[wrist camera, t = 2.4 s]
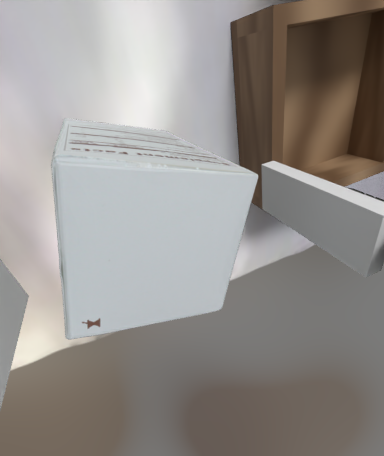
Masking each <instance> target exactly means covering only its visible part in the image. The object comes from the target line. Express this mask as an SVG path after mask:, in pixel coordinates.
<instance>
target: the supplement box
mask: <svg viewBox="0 0 384 456" xmlns="http://www.w3.org/2000/svg"><path fill="white" fill-rule="evenodd" d="M51 168H52V180H53V191H54V202H55V214H56V226H57V238H58V250H59V267H60V277H61V283H62V295H63V307H64V320H65V335H66V338H67V339H68V340H69V339H76V338H82V337H89V336H95V335H100V334H106V333H111V332H116V331H121V330H126V329H131V328H136V327H141V326H146V325H151V324H155V323H160V322H165V321H171V320H175V319H179V318H185V317H190V316H195V315H199V314H206V313H210V312H214V311H218V310H220V309H221V308H222V306H223V303H224V299H225V295H226V291H227V288H228V284H229V280H230V276H231V273H232V269H233V266H234V262H235V259H236V255H237V251H238V248H239V244H240V241H241V237H242V233H243V230H244V226H245V223H246V219H247V215H248V212H249V208H250V205H251V201H252V198H253V194H254V190H255V187H256V184H257V180H258V174H256V173H254V172H252V171H250V170H248V169H246V168H244V167H241V166H239V165H237V164H235V163H233V162H230V161H228V160H226V159H224V158H222V157H220V156H218V155H216V154H213V153H211V152H209V151H207V150H204V149H202V148H200V147H198V146H196V145H194V144H192V143H190V142H188V141H186V140H184V139H182V138H180V137H178V136H176V135H174V134H172V133H170V132H167V131H165V130H156V129H148V128H140V127H133V126H125V125H117V124H109V123H102V122H94V121H85V120H77V119H68V118H65V119H64V121H63V125H62V128H61V131H60V134H59V137H58V140H57V143H56V145H55V148H54V152H53V158H52V164H51Z"/></svg>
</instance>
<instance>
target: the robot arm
mask: <svg viewBox="0 0 384 456" xmlns="http://www.w3.org/2000/svg"><path fill="white" fill-rule="evenodd" d="M261 166H262V209H263V210H265V211H266V212H268V213H269V214H271V215H272V216H274V217H275V218H277V219H278V220H280V221H281V222H283V223H284V224H286V225H287V226H289V227H290V228H292V229H293V230H295V231H296V232H298V233H299V234H301V235H302V236H304V237H305V238H307V239H308V240H310V241H311V242H313V243H314V244H316V245H318V246H319V247H320V248H322V249H324V250H325V251H327V252H328V253H330V254H331V255H333V256H334V257H336V258H337V259H339V260H340V261H342V262H343V263H345V264H346V265H348V266H349V267H351V268H352V269H354V270H355V271H357V272H358V273H360V274H361V275H363V276H364V277H368V276H370V275H372V274H374V273H376V272H378V271H380V270H381V269H382V266H383V262H384V200H382V199H379V198H377V197H375V198H374V196H371V195H369V194H364V193H363V192H360V191H358V190H355V189H352V188H346V187H343V186H340V185H337V184H335V183H332V182H329V181H327V180H324V179H321V178H319V177H316V176H313V175H311V174H308V173H305V172H303V171H300V170H297V169H295V168H292V167H289V166H287V165H284V164H281V163H279V162H276V161H271V162H268V163H265V164H261ZM28 297H29V296H28V294H27V293H26V292H25V290H24V289H23V288H22V286H21V285H20V284H19V283H18V281H17V280H16V279H15V277H14V276H13V275H12V273H11V272H10V271H9V270H8V268H7V267H6V266H5V264H4V263H3V262H2V260H1V259H0V409H1V405H2V401H3V397H4V393H5V389H6V385H7V381H8V377H9V373H10V369H11V365H12V361H13V357H14V353H15V349H16V345H17V341H18V337H19V333H20V329H21V325H22V321H23V317H24V313H25V309H26V305H27V301H28Z"/></svg>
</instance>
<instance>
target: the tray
mask: <svg viewBox="0 0 384 456" xmlns="http://www.w3.org/2000/svg"><path fill="white" fill-rule="evenodd" d="M231 35H232V51H233V66H234V82H235V98H236V114H237V130H238V145H239V161H240V166H241V167H244V168H246V169H248V170H250V171H252V172H254V173H256V174H258V180H257V184H256V187H255V190H254V194H253V198H252V201H251V202H252V203H253V204H255V205H256V206H258V207H259V208H261V209H262V166H261V164H265V163H268V162H271V161H276V162H279V163H281V164H284V165H287V166H289V167H292V168H295V169H297V170H300V171H303V172H305V173H308V174H311V175H313V176H316V177H319V178H321V179H324V180H327V181H329V182H332V183H335V184H337V185H340V186H343V187H345V186H347V185H350V184H352V183H355V182H358V181H360V180H363V179H365V178H368V177H370V176H373V175H375V174H378V173H380V172H383V171H384V0H303V1H296V2H290V3H284V4H277V5H272V6H270V7H268V8H265V9H263V10H260V11H258V12H255V13H253V14H250V15H248V16H245V17H243V18H240V19H238V20H235V21H233V22H231ZM262 210H263V209H262ZM264 211H265V210H264ZM265 212H266V211H265ZM267 213H268V212H267ZM270 215H271V214H270Z"/></svg>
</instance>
